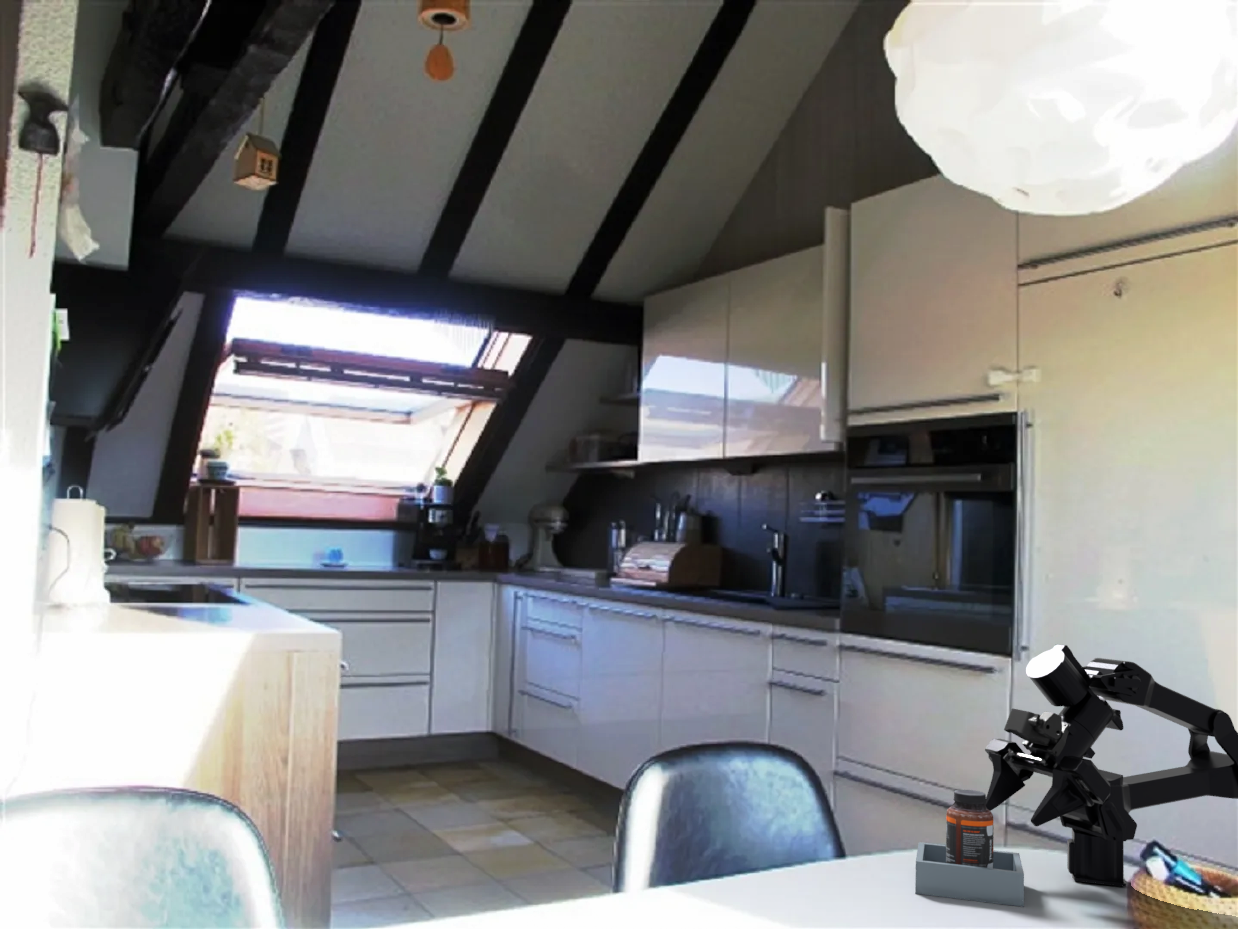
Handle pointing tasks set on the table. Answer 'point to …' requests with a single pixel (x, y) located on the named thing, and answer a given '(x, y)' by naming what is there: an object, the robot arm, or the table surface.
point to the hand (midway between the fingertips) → (1009, 816)
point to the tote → (970, 877)
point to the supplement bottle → (969, 830)
